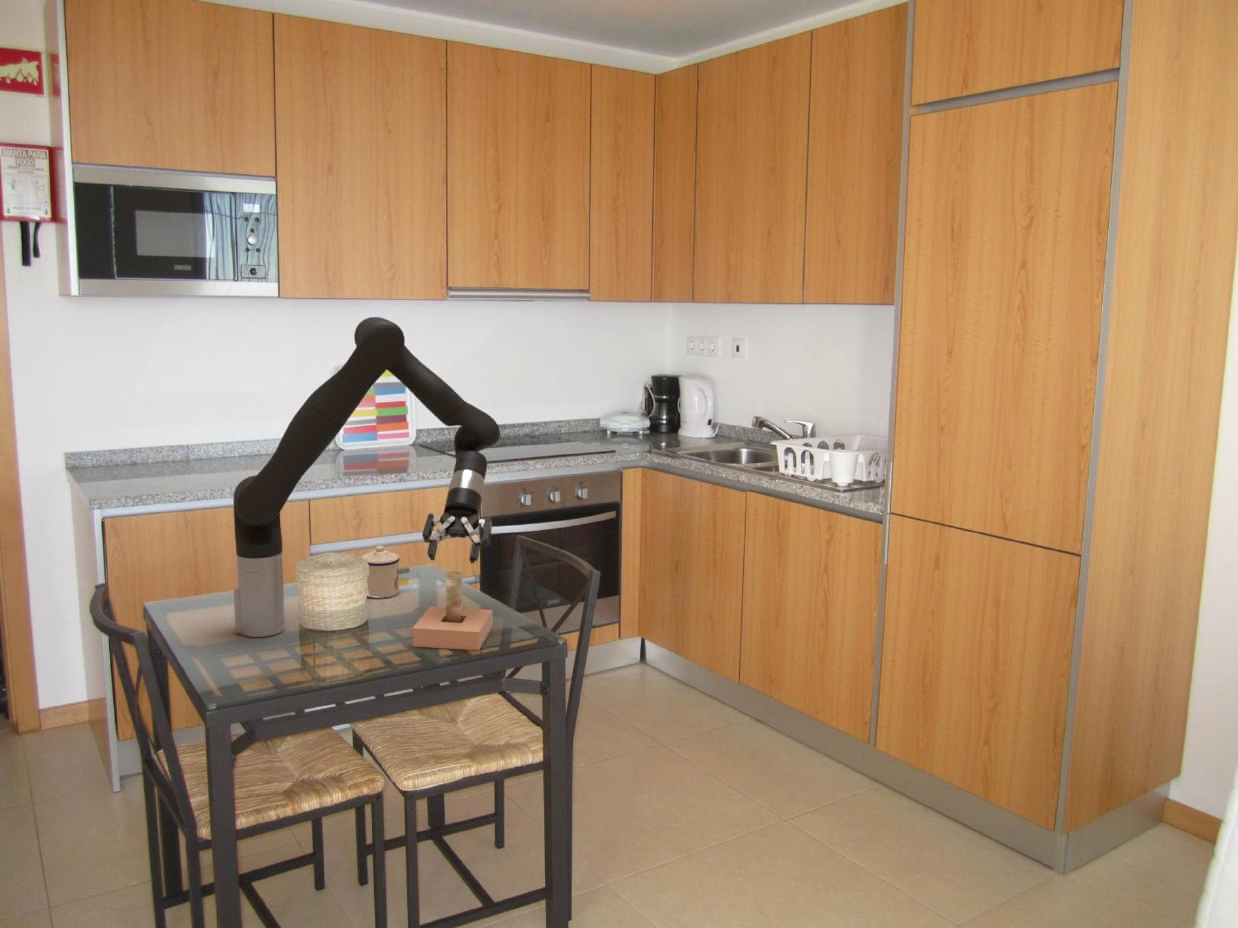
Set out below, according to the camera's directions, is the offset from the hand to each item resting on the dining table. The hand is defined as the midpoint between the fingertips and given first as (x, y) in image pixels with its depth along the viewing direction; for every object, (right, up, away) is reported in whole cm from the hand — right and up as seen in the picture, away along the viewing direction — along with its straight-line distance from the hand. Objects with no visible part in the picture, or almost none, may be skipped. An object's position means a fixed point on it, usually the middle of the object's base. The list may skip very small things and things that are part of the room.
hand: (451, 560), depth 213 cm
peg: (0, -17, +5) cm, 17 cm away
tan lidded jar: (-23, -11, +33) cm, 42 cm away
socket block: (0, -17, +5) cm, 17 cm away
